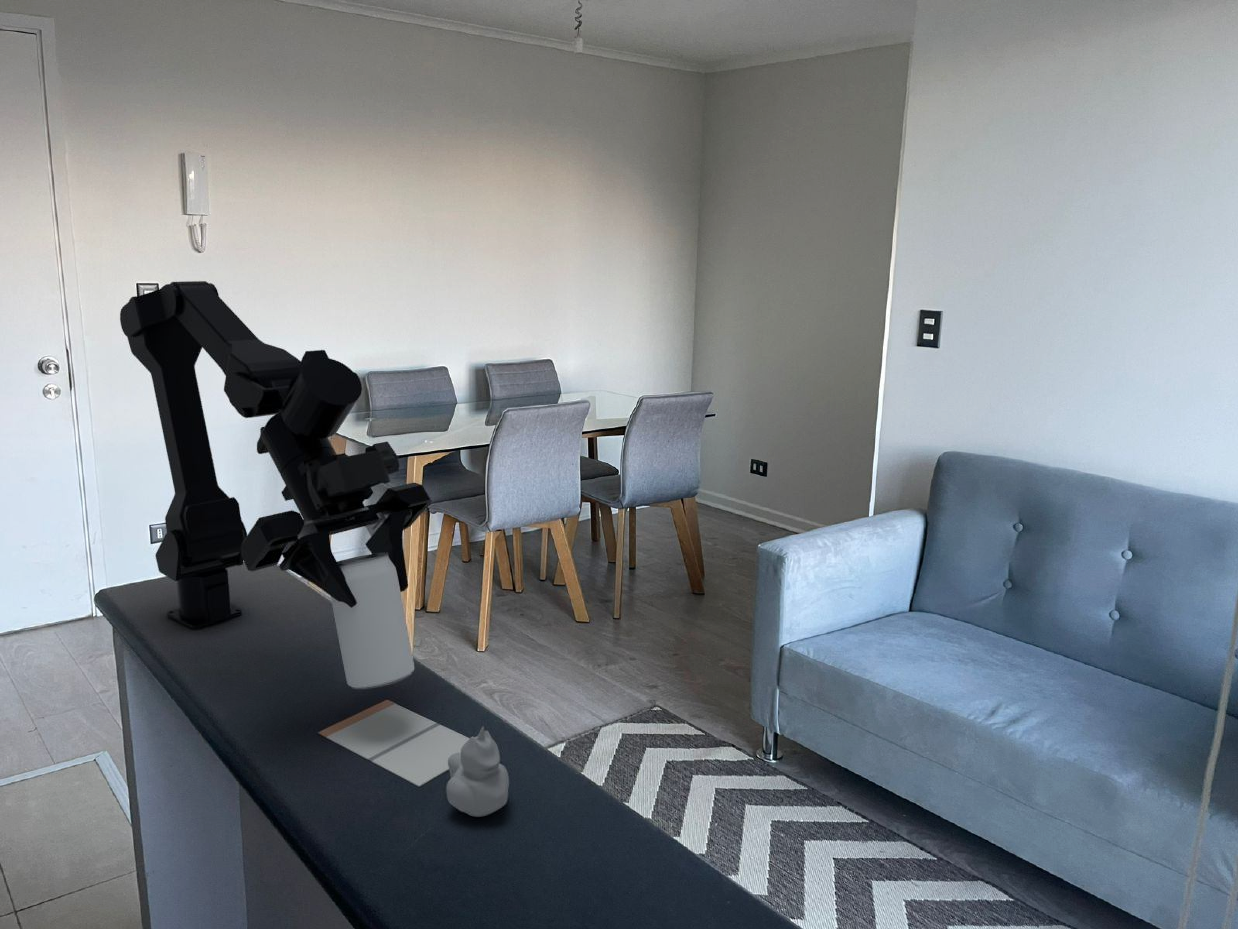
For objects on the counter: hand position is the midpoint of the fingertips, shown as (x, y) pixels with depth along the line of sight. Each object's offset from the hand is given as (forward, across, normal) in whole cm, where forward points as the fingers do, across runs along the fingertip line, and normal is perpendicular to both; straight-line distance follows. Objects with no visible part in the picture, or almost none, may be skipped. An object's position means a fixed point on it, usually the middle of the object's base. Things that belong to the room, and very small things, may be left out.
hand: (379, 597), depth 91 cm
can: (+6, -1, +5) cm, 8 cm away
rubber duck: (+22, -3, -3) cm, 22 cm away
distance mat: (+12, -1, +6) cm, 14 cm away
